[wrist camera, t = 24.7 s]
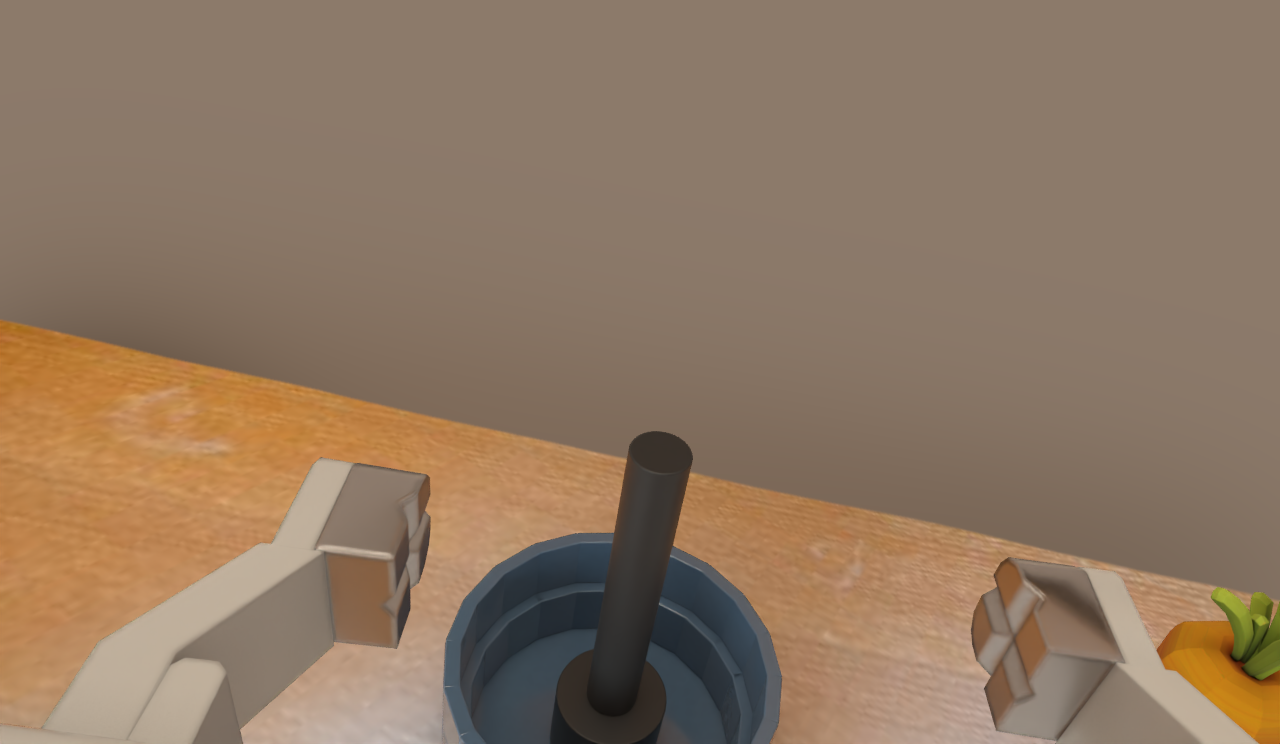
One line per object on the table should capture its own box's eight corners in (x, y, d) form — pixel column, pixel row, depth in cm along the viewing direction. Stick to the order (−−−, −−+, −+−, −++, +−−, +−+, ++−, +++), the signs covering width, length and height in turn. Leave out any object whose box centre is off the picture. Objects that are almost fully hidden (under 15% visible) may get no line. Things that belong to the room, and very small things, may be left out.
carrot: (1120, 902, 36) (1350, 682, 27) (1024, 791, 39) (1200, 561, 30) (1193, 846, 38) (1428, 626, 29) (1096, 746, 41) (1281, 519, 32)
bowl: (375, 787, 35) (368, 700, 32) (554, 576, 45) (564, 490, 41) (662, 982, 31) (692, 907, 28) (792, 705, 41) (826, 622, 37)
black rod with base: (528, 752, 37) (562, 461, 27) (585, 673, 40) (633, 389, 30) (622, 810, 35) (693, 526, 26) (673, 724, 39) (753, 443, 29)
